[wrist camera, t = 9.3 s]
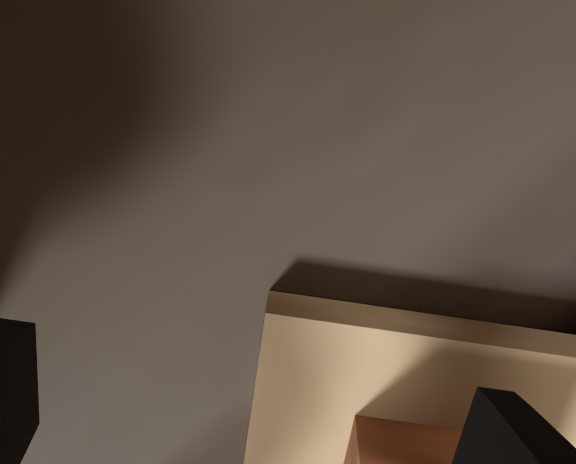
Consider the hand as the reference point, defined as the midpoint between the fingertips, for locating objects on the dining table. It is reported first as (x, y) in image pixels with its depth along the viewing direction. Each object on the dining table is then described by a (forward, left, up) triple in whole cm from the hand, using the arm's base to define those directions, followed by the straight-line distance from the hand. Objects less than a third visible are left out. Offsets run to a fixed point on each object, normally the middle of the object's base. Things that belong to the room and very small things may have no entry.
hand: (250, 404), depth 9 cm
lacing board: (+6, -9, -9) cm, 14 cm away
